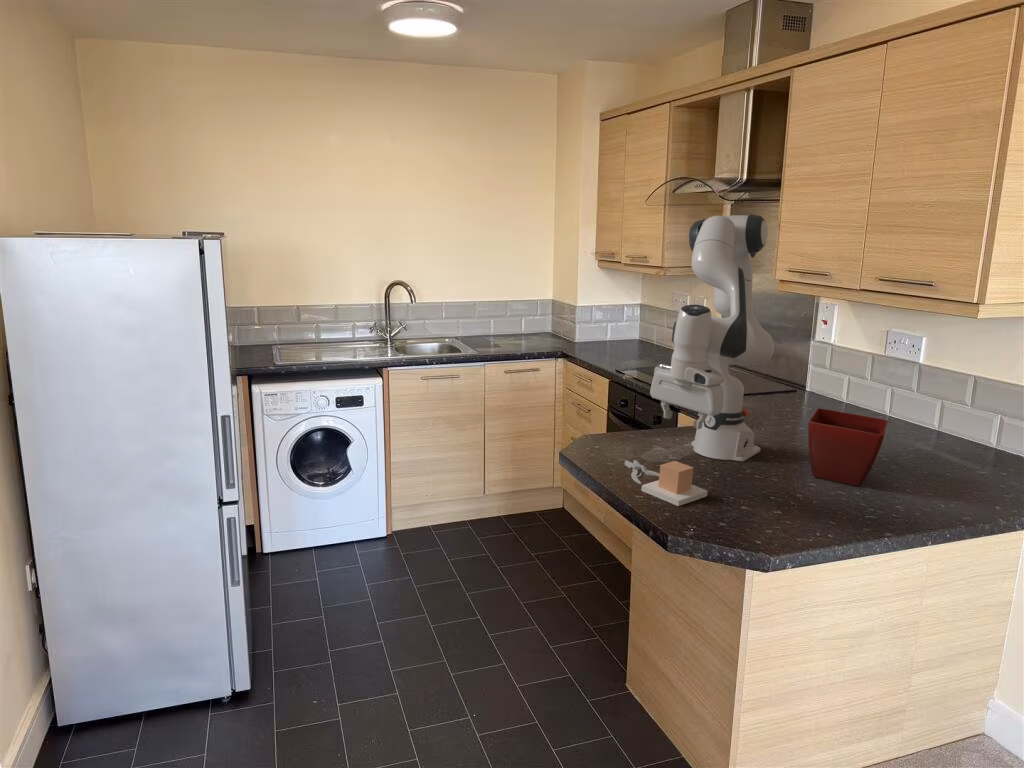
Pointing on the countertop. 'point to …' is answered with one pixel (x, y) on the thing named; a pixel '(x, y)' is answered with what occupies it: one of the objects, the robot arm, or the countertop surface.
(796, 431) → the countertop surface
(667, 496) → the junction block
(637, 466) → the pliers
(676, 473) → the tan cardboard cube
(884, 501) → the countertop surface
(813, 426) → the plant pot
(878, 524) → the countertop surface
